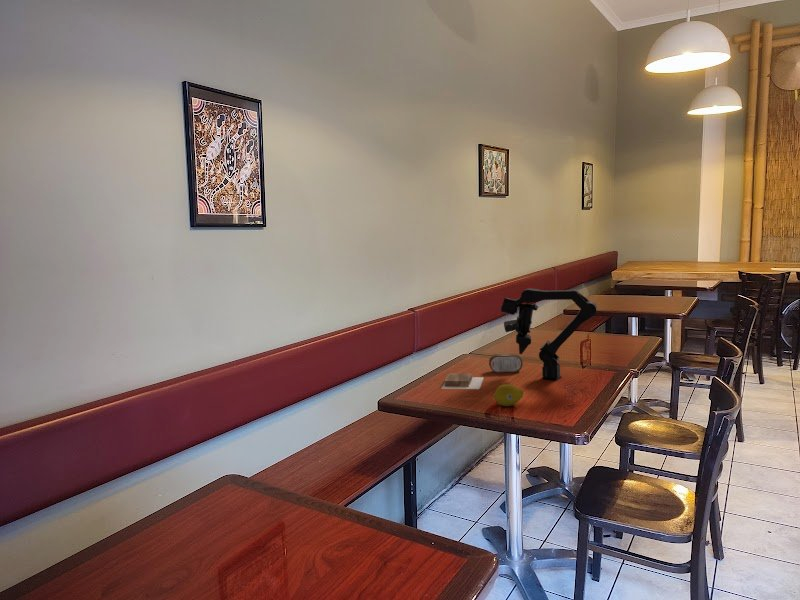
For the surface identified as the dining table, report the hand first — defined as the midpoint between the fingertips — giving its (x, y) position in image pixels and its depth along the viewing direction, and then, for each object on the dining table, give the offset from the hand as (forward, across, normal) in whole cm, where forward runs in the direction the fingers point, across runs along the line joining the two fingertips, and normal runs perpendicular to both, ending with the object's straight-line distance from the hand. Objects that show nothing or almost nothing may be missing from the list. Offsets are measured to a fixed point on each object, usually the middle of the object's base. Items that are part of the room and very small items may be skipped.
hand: (520, 349), depth 255 cm
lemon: (+2, +46, -6) cm, 46 cm away
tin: (+13, -1, -4) cm, 14 cm away
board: (+9, +16, -20) cm, 28 cm away
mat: (+11, +16, -23) cm, 31 cm away
